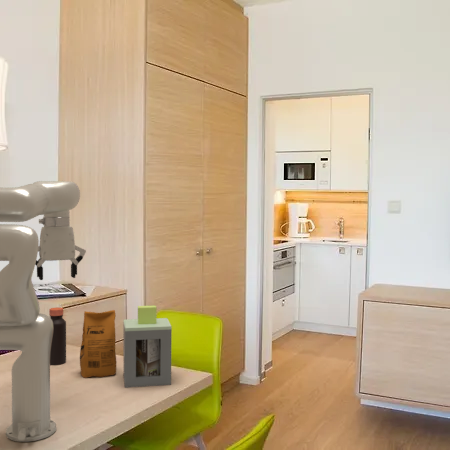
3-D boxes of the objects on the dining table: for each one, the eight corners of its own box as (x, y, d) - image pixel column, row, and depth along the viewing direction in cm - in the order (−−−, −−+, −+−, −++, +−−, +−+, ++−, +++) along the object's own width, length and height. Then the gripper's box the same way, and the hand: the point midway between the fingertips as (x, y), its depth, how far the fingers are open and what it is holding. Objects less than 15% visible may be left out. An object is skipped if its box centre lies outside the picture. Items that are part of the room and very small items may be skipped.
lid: (171, 332, 184) (171, 309, 184) (125, 334, 181) (125, 311, 180) (167, 323, 196) (167, 302, 195) (123, 325, 192) (123, 303, 192)
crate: (171, 384, 185) (171, 329, 184) (124, 387, 182) (125, 331, 181) (166, 372, 197) (167, 320, 196) (123, 375, 194) (123, 322, 192)
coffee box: (162, 380, 188) (163, 333, 187) (147, 385, 184) (147, 337, 183) (146, 374, 195) (146, 328, 194) (130, 378, 190) (131, 331, 189)
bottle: (47, 360, 209) (46, 307, 208) (65, 359, 211) (65, 306, 210) (46, 365, 203) (46, 311, 202) (66, 364, 205) (66, 310, 204)
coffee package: (80, 369, 199) (79, 308, 198) (115, 367, 202) (115, 307, 201) (79, 379, 189) (79, 314, 188) (117, 376, 192) (117, 313, 191)
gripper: (28, 224, 163) (29, 282, 165) (88, 222, 171) (88, 278, 173) (25, 222, 170) (25, 278, 171) (82, 221, 178) (82, 274, 179)
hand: (57, 278), depth 172 cm, fingers open, 9 cm apart
